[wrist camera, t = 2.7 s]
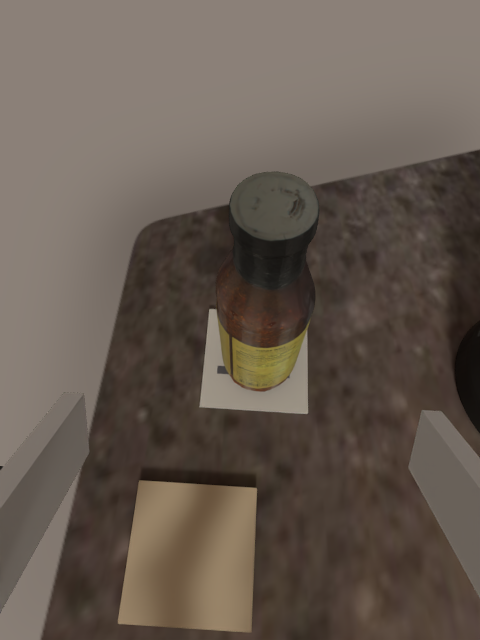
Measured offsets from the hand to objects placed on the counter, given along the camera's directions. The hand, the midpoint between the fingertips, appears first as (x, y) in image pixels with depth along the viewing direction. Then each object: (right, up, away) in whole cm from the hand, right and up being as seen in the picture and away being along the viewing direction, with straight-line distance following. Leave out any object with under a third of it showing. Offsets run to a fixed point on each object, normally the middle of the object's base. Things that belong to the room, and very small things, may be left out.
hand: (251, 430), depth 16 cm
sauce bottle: (+1, +1, +20) cm, 20 cm away
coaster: (-4, -13, +14) cm, 19 cm away
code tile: (+1, +1, +20) cm, 20 cm away
